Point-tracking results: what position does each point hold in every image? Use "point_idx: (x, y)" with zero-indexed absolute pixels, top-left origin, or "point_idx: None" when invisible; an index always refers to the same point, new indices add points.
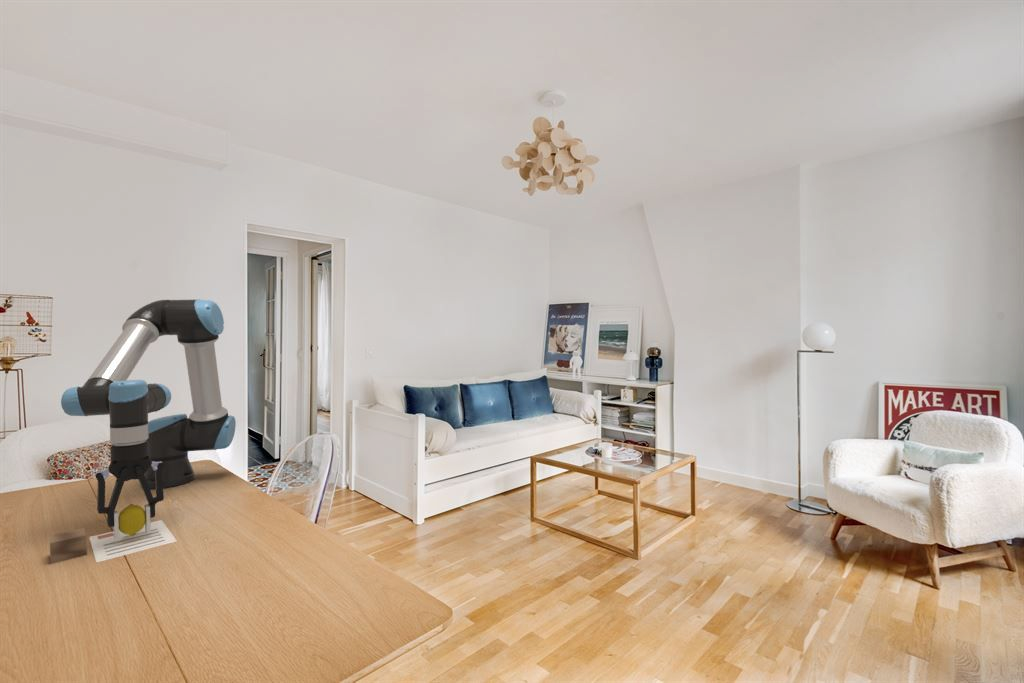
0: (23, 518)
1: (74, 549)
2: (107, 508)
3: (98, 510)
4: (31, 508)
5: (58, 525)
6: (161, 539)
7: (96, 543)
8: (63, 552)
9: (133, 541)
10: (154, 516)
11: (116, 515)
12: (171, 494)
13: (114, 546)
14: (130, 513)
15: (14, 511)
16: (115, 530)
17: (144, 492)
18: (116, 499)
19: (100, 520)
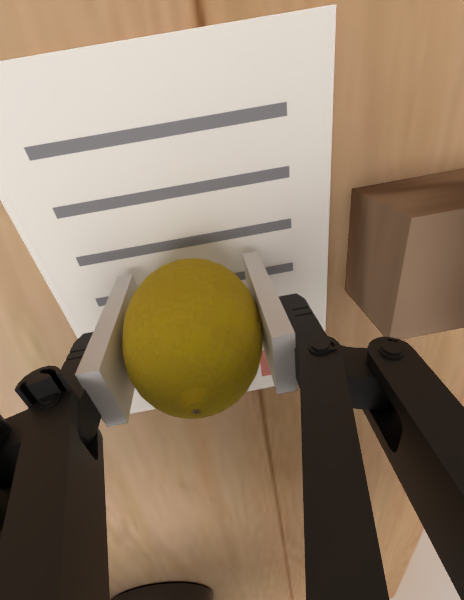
0: (405, 525)
1: (419, 191)
2: (352, 377)
3: (417, 354)
4: (384, 555)
5: (367, 479)
6: (51, 180)
7: (311, 305)
8: (458, 184)
9: (185, 239)
10: (81, 335)
11: (279, 327)
12: (140, 556)
13: (255, 225)
14: (195, 320)
15: (407, 551)
16: (264, 273)
17: (78, 511)
18: (318, 439)
19: (287, 475)
